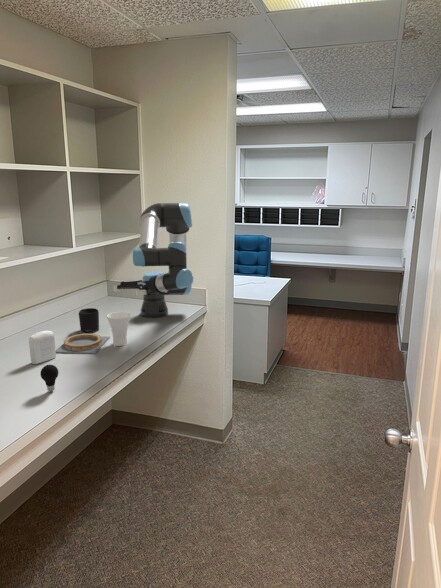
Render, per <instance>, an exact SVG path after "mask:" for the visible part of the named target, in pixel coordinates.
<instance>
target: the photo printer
mask: <svg viewBox="0 0 441 588" xmlns="http://www.w3.org/2000/svg"><path fill="white" fill-rule="evenodd" d="M28 345H29V353H30V362H31V364H33V365H38V364H41V363H44V362H47V361H50V360H54V359H55V358H56V357H57V353H56V342H55V333H54V332H53V331H51V330H42V331H38V332H35V333H34V334H32V335H31V336H29V337H28Z"/></svg>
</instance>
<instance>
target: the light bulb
mask: <svg viewBox="0 0 441 588" xmlns="http://www.w3.org/2000/svg"><path fill="white" fill-rule="evenodd" d="M58 376H59V369H58V368H57V366H56V365H55V364H46V365H44V366H43V367H41V369H40V377H41V379H42V380H43V381H44V382H45V385H46V388H47V389H46V390H47V391H48V392H50V393H53V391H55V388H56V381H57V379H58Z"/></svg>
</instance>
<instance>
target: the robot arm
mask: <svg viewBox="0 0 441 588" xmlns="http://www.w3.org/2000/svg"><path fill="white" fill-rule="evenodd" d="M191 212H192V211H191V207H190V204H189V203H183V202H177V203H176V202H175V203H174V202H172V203H169V202H168V203H167V202H162V203H161V202H157V203H153V204H151V205H150V206H148V207H147V208H145V210H143V211H142V213H141V214H140V217H139V225H140V233H139V234H140V235H139V243H138V246H139V247H138V248H133V250H132V263H133V265H134V266H135V267H142V268H143V267H168V272H164V271H163V270H156V271H150V272H146V273H144V274H143V276H142V279H140V280H133V281H132V280H131V281H120V284H115V285H113V286H112V289H113V291H112V292H114V293H116V292H121V291H124V290H135V289H136V290H135V297H139V296H142V297H143V298H142V303H141V307H140V315H141V316H142V317H145V318H160V317H164V316H167V315H168V314H169V307H168V304H167V302H166V300H165V298H166V297H165V296H186V295H189V294H190V293H191V290H192V284H193V283H194V276H193V273H192V271H191V270H190V269H188V268H187V265H188V261H187V233H188V232H190V228H192V227H193V221H192V220H193V219H192V213H191ZM159 228H165V230H166V232H167V233H168V234H169V236H168V237H169V243H168V246H167V247H157V246H158V229H159Z"/></svg>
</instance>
